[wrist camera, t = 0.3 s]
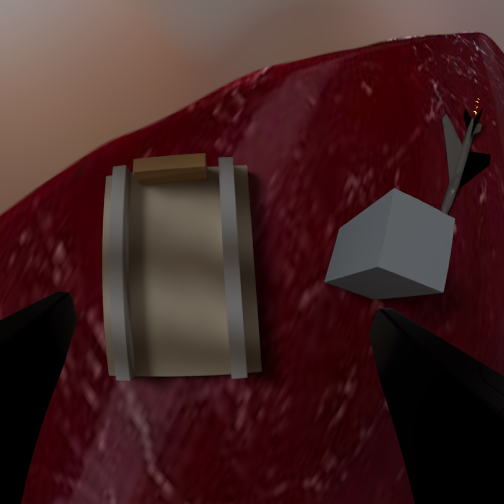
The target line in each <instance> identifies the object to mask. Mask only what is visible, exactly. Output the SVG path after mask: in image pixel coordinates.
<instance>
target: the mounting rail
mask: <svg viewBox="0 0 504 504" xmlns="http://www.w3.org/2000/svg"><path fill="white" fill-rule="evenodd" d="M103 307H104V325H105V339H106V350H107V360H108V370H109V375H112V376H116V380H125V381H130V380H132V379H133V378H134V377H136V376H204V375H224V374H231V376H232V379H235V378H247V373H252V372H262V368H261V354H260V340H259V326H258V312H257V297H256V284H255V270H254V256H253V242H252V228H251V214H250V200H249V186H248V172H247V165H244V166H233V157H224V158H219V167H207V164H206V156H205V153H201V154H186V155H174V156H162V157H151V158H142V159H134V166H133V173H131V172H130V171H129V169H128V168H127V166H126V165H125V166H116V167H113V176H106V187H105V201H104V220H103Z"/></svg>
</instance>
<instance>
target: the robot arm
mask: <svg viewBox="0 0 504 504" xmlns="http://www.w3.org/2000/svg"><path fill="white" fill-rule="evenodd" d="M76 324H77V314H76V310H75V306H74V302H73V298H72V295H71V294H70V293H69V292H61V291H58V292H56V293H54V294H51V295H49V296H47V297H45V298H43V299H41V300H39V301H37V302H35V303H33V304H31V305H29V306H27V307H25V308H23V309H21V310H19V311H17V312H15V313H13V314H11V315H9V316H7V317H5V318H3V319H1V320H0V504H21V501H22V496H23V492H24V488H25V482H26V479H27V475H28V471H29V467H30V463H31V460H32V456H33V452H34V449H35V446H36V442H37V439H38V436H39V433H40V429H41V426H42V423H43V420H44V417H45V414H46V411H47V409H48V406H49V403H50V400H51V397H52V395H53V392H54V389H55V387H56V384H57V381H58V379H59V376H60V374H61V371H62V368H63V366H64V363H65V360H66V357H67V353H68V350H69V346H70V343H71V340H72V336H73V333H74V330H75V327H76ZM370 340H371V345H372V349H373V353H374V358H375V362H376V367H377V371H378V376H379V380H380V383H381V386H382V389H383V392H384V395H385V398H386V401H387V405H388V408H389V411H390V414H391V417H392V421H393V424H394V427H395V431H396V434H397V437H398V441H399V444H400V448H401V451H402V455H403V458H404V462H405V466H406V469H407V473H408V477H409V481H410V485H411V489H412V493H413V497H414V502H415V504H504V376H502V375H500V374H499V373H497V372H495V371H494V370H492V369H490V368H489V367H487V366H485V365H484V364H482V363H481V362H479V361H478V362H477V360H476V359H474V358H472V357H471V356H469V355H468V354H466V353H464V352H463V351H461V350H459V349H458V348H456V347H455V346H453V345H451V344H450V343H448V342H446V341H445V340H443V339H442V338H440V337H438V336H437V335H435V334H433V333H432V332H430V331H428V330H427V329H425V328H423V327H422V326H420V325H418V324H417V323H415V322H413V321H412V320H410V319H408V318H407V317H405V316H403V315H402V314H400V313H398V312H397V311H395V310H393V309H391V308H380V309H379V310H378V311H377V312H376V315H375V318H374V321H373V324H372V327H371V330H370Z"/></svg>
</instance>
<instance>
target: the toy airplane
mask: <svg viewBox="0 0 504 504" xmlns="http://www.w3.org/2000/svg"><path fill="white" fill-rule="evenodd" d="M478 99H479V98H478ZM476 102H477V101H476ZM482 109H483V108H482ZM482 109H481V111H480V112H479V114H478V115H477V117H476V118H475V119H473V118H471V117H470V116H469V114H468V112H467V110H466V109H465V113H464V119H465V123H466V126H467V131H466V134H465V137H464V141H463V144H461V142H460V140H459V138H458V135H457V133H456V131H455V129H454V127H453V125H452V123H451V121H450V120H449V118H448V116H447V114H446V115H445V116H444V118H443V119H442V121H443V128H444V134H445V142H446V150H447V159H448V169H449V181H450V184H449V186H448V189H447V192H446V195H445V198H444V201H443V204H442V207H441V212H443V213H445V214H448V212H449V210H450V208H451V206H452V203H453V201H454V198H455V195H456V192H457V190H458V189H459V188H460V187H461V186H463V185H464V184H465V183H467V182H468V181H469V180H470V179H472V178H473V177H474V176H475V175H477V174H478V173H479V172H480V171H482V170H483V169H484V168H485V167H487V166H488V165H489V164H490V155H489V154H483V153H476V152H469V150H470V146H471V143H472V138H473V134H475V133H478V132H480V131H481V127H482V124H480V123H478V121H479V119H480V116H481V113H482ZM474 112H475V111H474Z"/></svg>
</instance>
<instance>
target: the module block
mask: <svg viewBox="0 0 504 504" xmlns="http://www.w3.org/2000/svg"><path fill="white" fill-rule="evenodd" d="M454 221H455V219H454V218H452V217H450V216H449V215H447V214H445V213H443V212H441V211H439V210H437V209H435V208H433V207H431V206H429V205H427V204H425V203H423V202H421V201H419V200H417V199H415V198H413V197H411V196H409V195H407V194H405V193H403V192H401V191H399V190H397V189H395V188H394V189H393V190H391V191H390V192H389V193H387V194H386V195H385V196H383V197H382V198H380V199H379V200H378V201H376V202H375V203H374V204H372V205H371V206H370V207H368V208H367V209H366V210H364V211H363V212H362V213H360V214H359V215H357V216H356V217H355V218H353V219H352V220H351V221H349V222H348V223H346V224H345V225H344V226H342V227H341V228H340V229H339V233H338V236H337V240H336V244H335V247H334V251H333V254H332V258H331V261H330V265H329V268H328V271H327V275H326V278H325V281H324V282H326V283H328V284H331V285H334V286H337V287H340V288H343V289H346V290H348V291H351V292H354V293H357V294H360V295H363V296H366V297H368V298H371V299H385V298H396V297H407V296H417V295H426V294H435V293H443V292H444V287H445V282H446V276H447V271H448V265H449V259H450V252H451V246H452V238H453V230H454Z"/></svg>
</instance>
